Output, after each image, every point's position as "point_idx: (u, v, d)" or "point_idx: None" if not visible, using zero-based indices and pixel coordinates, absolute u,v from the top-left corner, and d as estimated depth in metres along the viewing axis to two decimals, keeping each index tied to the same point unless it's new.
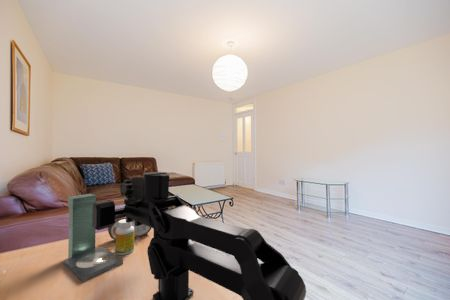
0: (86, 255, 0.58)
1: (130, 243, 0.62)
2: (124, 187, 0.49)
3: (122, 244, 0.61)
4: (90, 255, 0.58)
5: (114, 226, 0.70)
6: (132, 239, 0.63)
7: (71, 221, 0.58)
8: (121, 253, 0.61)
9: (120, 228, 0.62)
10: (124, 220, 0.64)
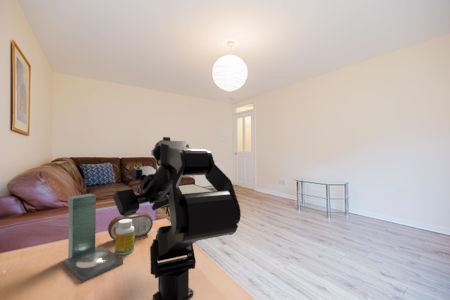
0: (86, 255, 0.58)
1: (130, 243, 0.62)
2: (133, 170, 0.53)
3: (122, 244, 0.61)
4: (90, 255, 0.58)
5: (114, 226, 0.70)
6: (132, 239, 0.63)
7: (71, 221, 0.58)
8: (121, 253, 0.61)
9: (120, 228, 0.62)
10: (124, 220, 0.64)
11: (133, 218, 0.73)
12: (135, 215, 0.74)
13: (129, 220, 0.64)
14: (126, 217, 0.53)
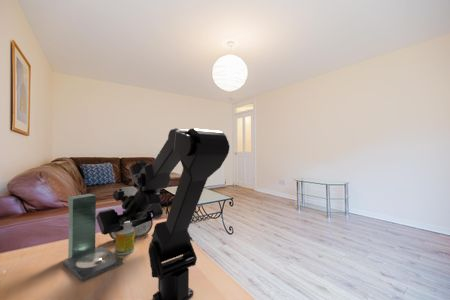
0: (86, 255, 0.58)
1: (130, 243, 0.62)
2: (116, 192, 0.59)
3: (122, 244, 0.61)
4: (90, 255, 0.58)
5: None
6: (132, 239, 0.63)
7: (71, 221, 0.58)
8: (121, 253, 0.61)
9: None
10: None
11: None
12: None
13: None
14: (115, 232, 0.60)
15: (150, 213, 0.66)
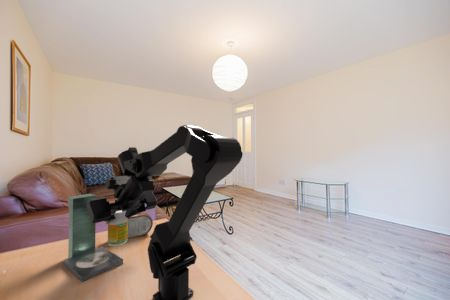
0: (86, 255, 0.58)
1: (123, 234, 0.60)
2: (107, 180, 0.57)
3: (115, 235, 0.59)
4: (90, 255, 0.58)
5: None
6: (125, 230, 0.61)
7: (71, 221, 0.58)
8: (113, 244, 0.59)
9: None
10: None
11: (133, 218, 0.73)
12: (135, 215, 0.74)
13: None
14: (107, 223, 0.58)
15: (144, 203, 0.64)
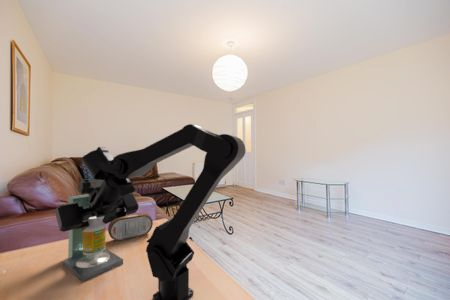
0: (86, 255, 0.58)
1: (99, 241, 0.55)
2: (80, 183, 0.52)
3: (90, 243, 0.54)
4: (90, 255, 0.58)
5: (114, 226, 0.70)
6: (102, 237, 0.56)
7: None
8: (88, 253, 0.54)
9: None
10: None
11: (133, 218, 0.73)
12: (135, 215, 0.74)
13: None
14: (81, 230, 0.53)
15: (123, 208, 0.58)
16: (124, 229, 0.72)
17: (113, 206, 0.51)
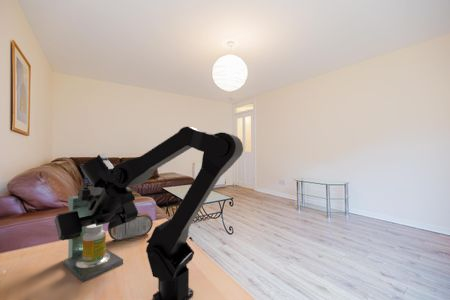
0: None
1: (99, 250, 0.55)
2: (80, 191, 0.51)
3: (90, 252, 0.54)
4: None
5: None
6: (102, 246, 0.56)
7: None
8: (88, 262, 0.54)
9: (88, 233, 0.55)
10: (93, 224, 0.57)
11: None
12: None
13: None
14: (73, 239, 0.51)
15: None
16: (124, 229, 0.72)
17: (113, 214, 0.51)
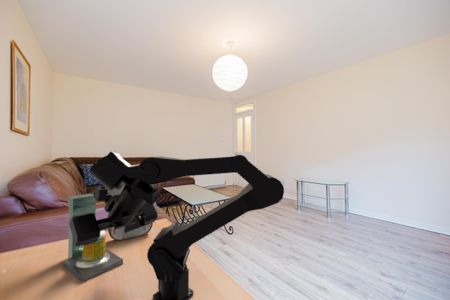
0: None
1: (99, 250, 0.55)
2: (96, 190, 0.46)
3: (90, 252, 0.54)
4: None
5: None
6: (102, 246, 0.56)
7: None
8: (88, 262, 0.54)
9: None
10: None
11: None
12: None
13: None
14: (88, 244, 0.46)
15: None
16: None
17: (133, 216, 0.45)
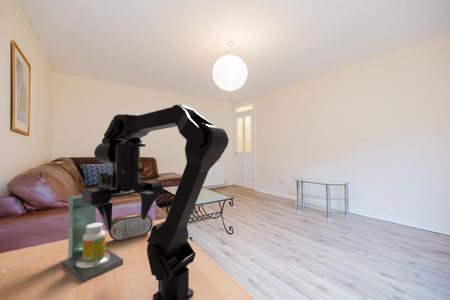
0: None
1: (99, 250, 0.55)
2: (98, 177, 0.52)
3: (90, 252, 0.54)
4: None
5: (114, 226, 0.70)
6: (102, 246, 0.56)
7: (71, 221, 0.58)
8: (88, 262, 0.54)
9: (88, 233, 0.55)
10: (93, 224, 0.57)
11: (133, 218, 0.73)
12: (135, 215, 0.74)
13: (99, 224, 0.57)
14: (108, 222, 0.47)
15: None
16: (124, 229, 0.72)
17: (135, 173, 0.51)
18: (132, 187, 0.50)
